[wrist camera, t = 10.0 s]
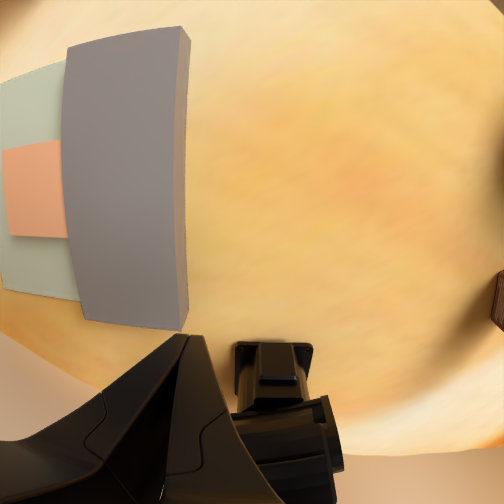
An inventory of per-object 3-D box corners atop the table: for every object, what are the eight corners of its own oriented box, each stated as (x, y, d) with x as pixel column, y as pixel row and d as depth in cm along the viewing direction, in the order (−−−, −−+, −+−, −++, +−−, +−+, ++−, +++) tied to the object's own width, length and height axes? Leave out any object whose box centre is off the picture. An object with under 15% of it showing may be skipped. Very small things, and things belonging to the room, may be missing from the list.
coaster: (83, 229, 20) (70, 238, 18) (23, 227, 20) (9, 235, 18) (79, 137, 18) (64, 138, 16) (17, 147, 18) (1, 150, 16)
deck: (188, 309, 23) (181, 331, 20) (100, 300, 23) (84, 319, 20) (191, 40, 16) (181, 25, 13) (88, 56, 16) (67, 47, 13)
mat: (95, 300, 23) (93, 303, 23) (7, 286, 23) (4, 288, 23) (83, 57, 16) (80, 56, 15) (-11, 90, 16) (-15, 90, 15)
